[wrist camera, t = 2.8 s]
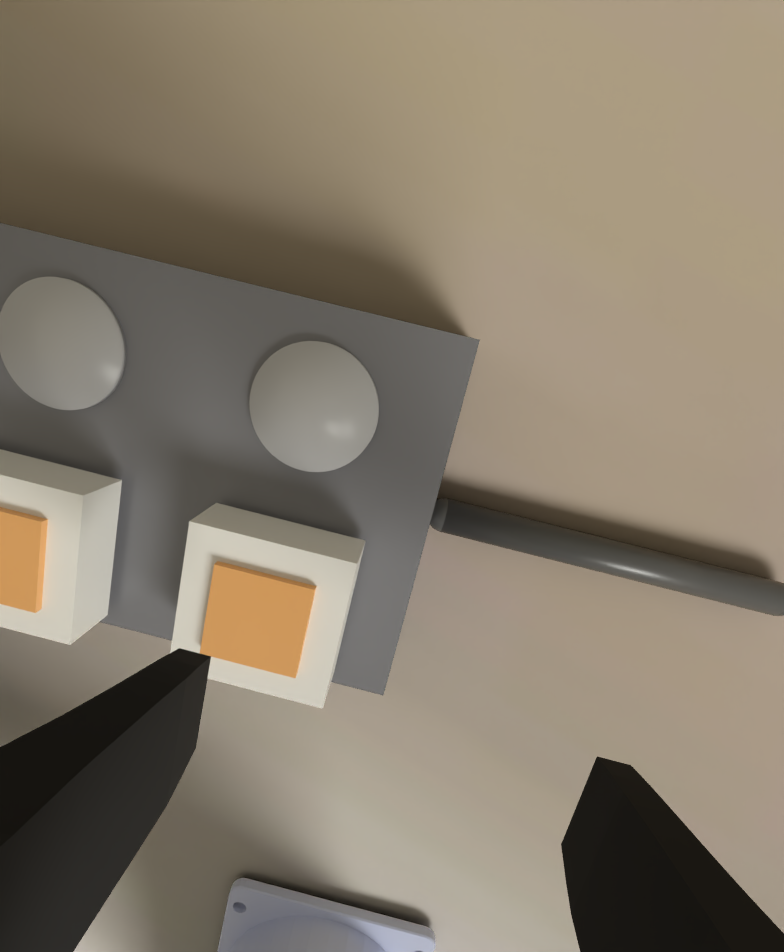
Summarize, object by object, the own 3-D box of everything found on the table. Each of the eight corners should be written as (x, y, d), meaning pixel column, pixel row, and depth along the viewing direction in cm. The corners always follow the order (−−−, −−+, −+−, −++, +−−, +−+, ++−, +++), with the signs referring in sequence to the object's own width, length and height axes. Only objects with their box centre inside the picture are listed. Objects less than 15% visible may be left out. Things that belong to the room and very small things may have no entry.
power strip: (716, 730, 17) (769, 800, 14) (-183, 499, 17) (-293, 524, 15) (855, 436, 14) (952, 454, 12) (-198, 178, 15) (-334, 140, 12)
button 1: (333, 672, 14) (320, 714, 12) (195, 636, 14) (163, 673, 12) (365, 540, 13) (356, 566, 11) (216, 502, 13) (184, 524, 12)
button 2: (107, 615, 14) (64, 649, 12) (-30, 579, 14) (-90, 609, 13) (122, 480, 13) (77, 498, 11) (-26, 442, 13) (-91, 455, 12)
